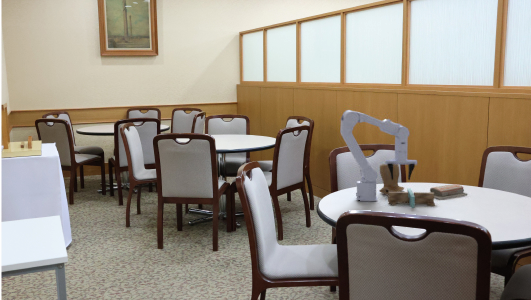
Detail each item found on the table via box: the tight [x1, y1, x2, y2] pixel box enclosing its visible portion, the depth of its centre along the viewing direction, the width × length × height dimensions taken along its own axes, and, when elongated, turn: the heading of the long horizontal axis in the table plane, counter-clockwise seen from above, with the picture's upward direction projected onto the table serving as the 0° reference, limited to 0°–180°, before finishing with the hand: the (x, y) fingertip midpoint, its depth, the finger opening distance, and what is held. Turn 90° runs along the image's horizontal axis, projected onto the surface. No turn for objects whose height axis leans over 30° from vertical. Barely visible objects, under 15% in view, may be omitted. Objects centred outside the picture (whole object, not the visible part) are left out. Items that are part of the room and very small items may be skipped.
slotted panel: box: [406, 188, 415, 209], centre depth 217 cm, size 16×2×5 cm, turn 169°
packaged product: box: [428, 183, 468, 200], centre depth 230 cm, size 18×5×10 cm
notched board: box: [387, 191, 436, 207], centre depth 217 cm, size 20×8×5 cm, turn 79°
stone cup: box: [379, 163, 405, 196], centre depth 237 cm, size 15×12×15 cm
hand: (400, 179), depth 224 cm, fingers open, 7 cm apart
